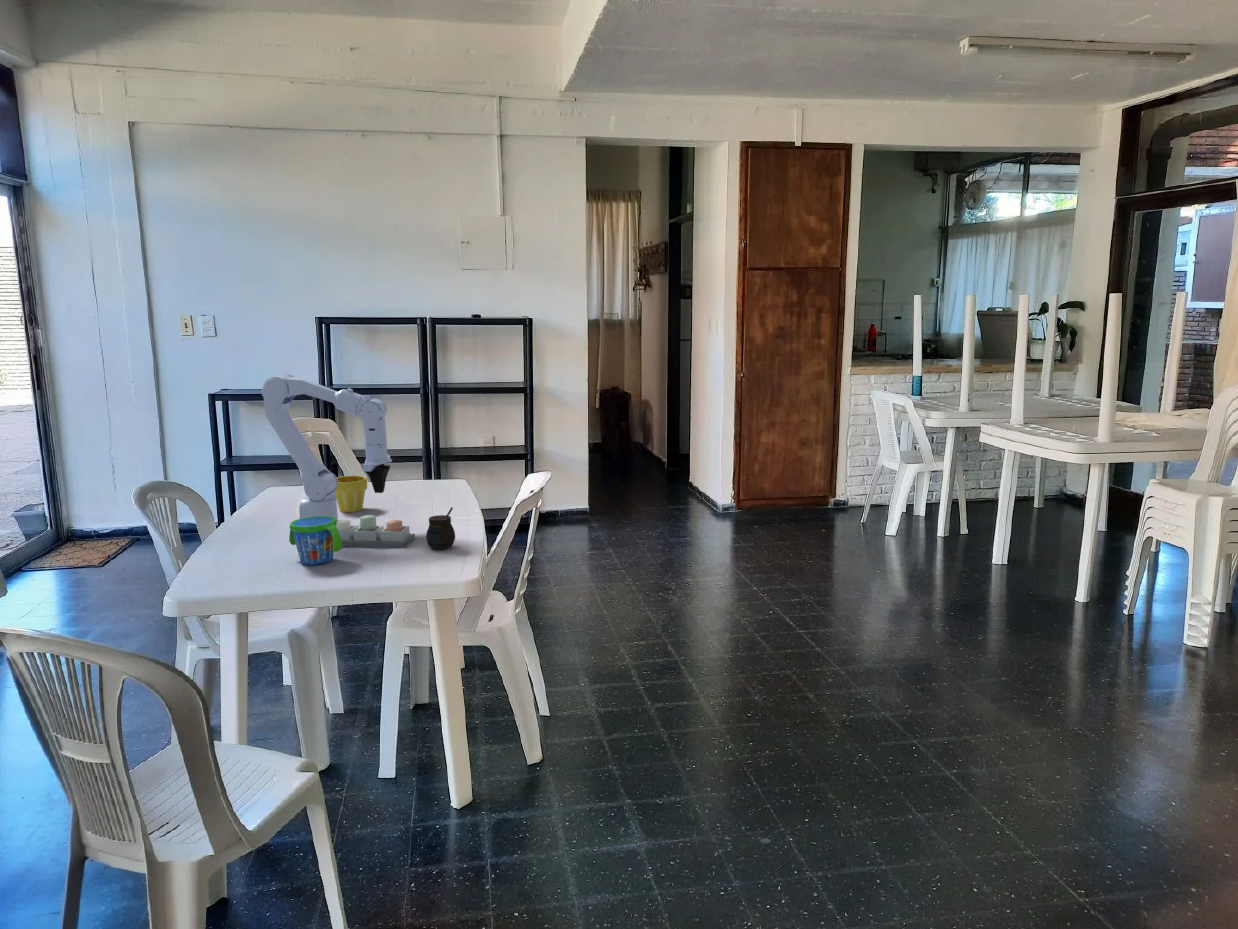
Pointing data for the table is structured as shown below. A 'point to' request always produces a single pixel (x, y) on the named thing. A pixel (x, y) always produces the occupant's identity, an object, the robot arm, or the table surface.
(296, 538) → the snack cup
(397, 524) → the terracotta button
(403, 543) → the button panel
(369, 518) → the sage button
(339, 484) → the plant pot
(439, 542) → the mate gourd
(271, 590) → the table surface
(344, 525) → the cream button
